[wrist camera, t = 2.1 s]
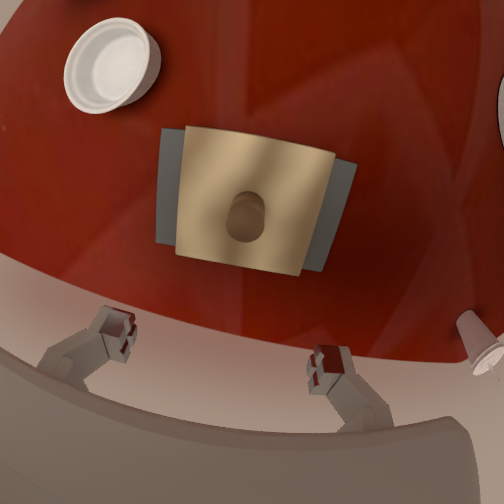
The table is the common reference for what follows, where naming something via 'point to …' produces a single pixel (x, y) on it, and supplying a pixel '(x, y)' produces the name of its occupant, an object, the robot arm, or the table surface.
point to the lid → (249, 199)
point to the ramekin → (111, 66)
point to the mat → (170, 195)
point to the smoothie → (479, 344)
